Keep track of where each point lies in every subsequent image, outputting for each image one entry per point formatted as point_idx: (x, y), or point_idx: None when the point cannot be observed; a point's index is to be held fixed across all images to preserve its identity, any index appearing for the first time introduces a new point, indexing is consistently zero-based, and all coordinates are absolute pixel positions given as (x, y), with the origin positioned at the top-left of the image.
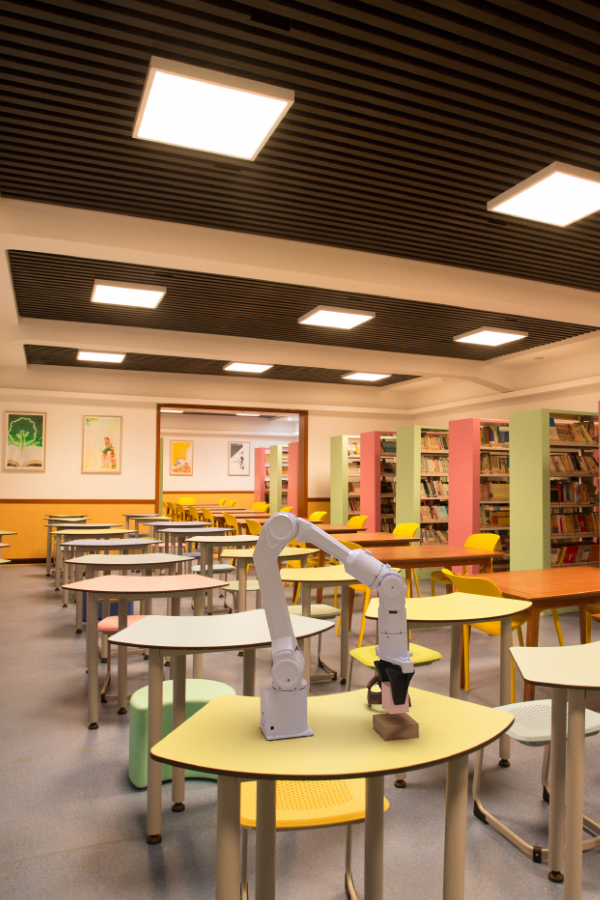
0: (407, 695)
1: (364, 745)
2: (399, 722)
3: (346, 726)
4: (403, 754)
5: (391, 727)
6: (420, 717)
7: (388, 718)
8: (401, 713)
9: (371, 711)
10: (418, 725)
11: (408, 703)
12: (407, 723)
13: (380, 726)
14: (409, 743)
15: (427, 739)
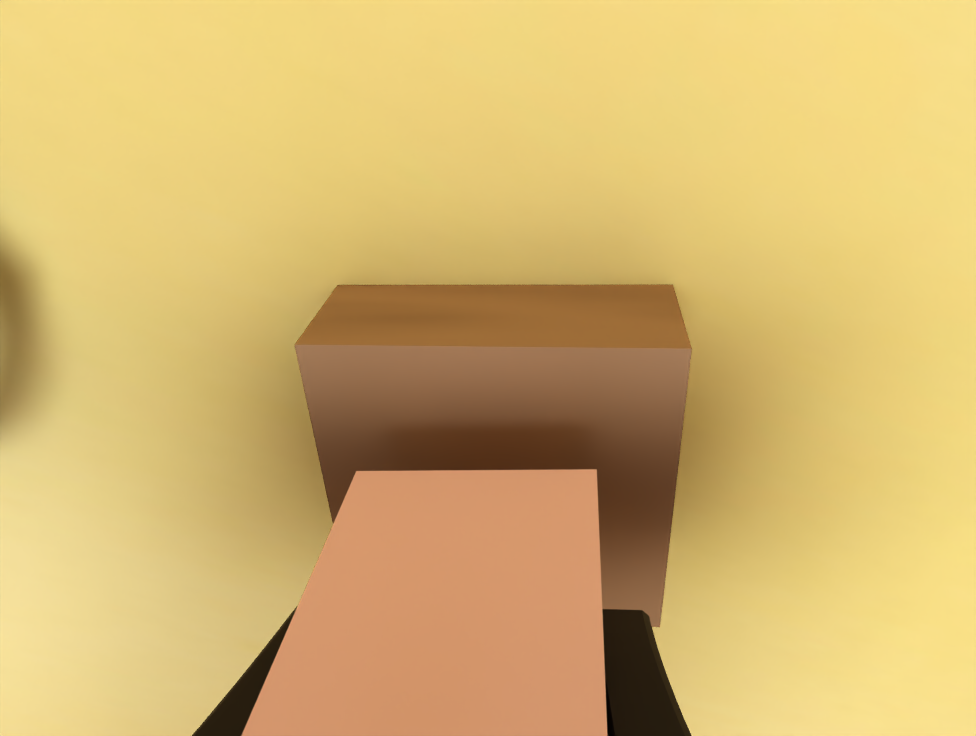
0: (600, 646)
1: (671, 657)
2: (600, 499)
3: None
4: (938, 517)
5: (665, 574)
6: (124, 43)
7: None
8: (348, 394)
9: (10, 429)
10: (688, 339)
11: (596, 544)
12: (652, 447)
13: None
14: (761, 405)
15: (741, 224)
